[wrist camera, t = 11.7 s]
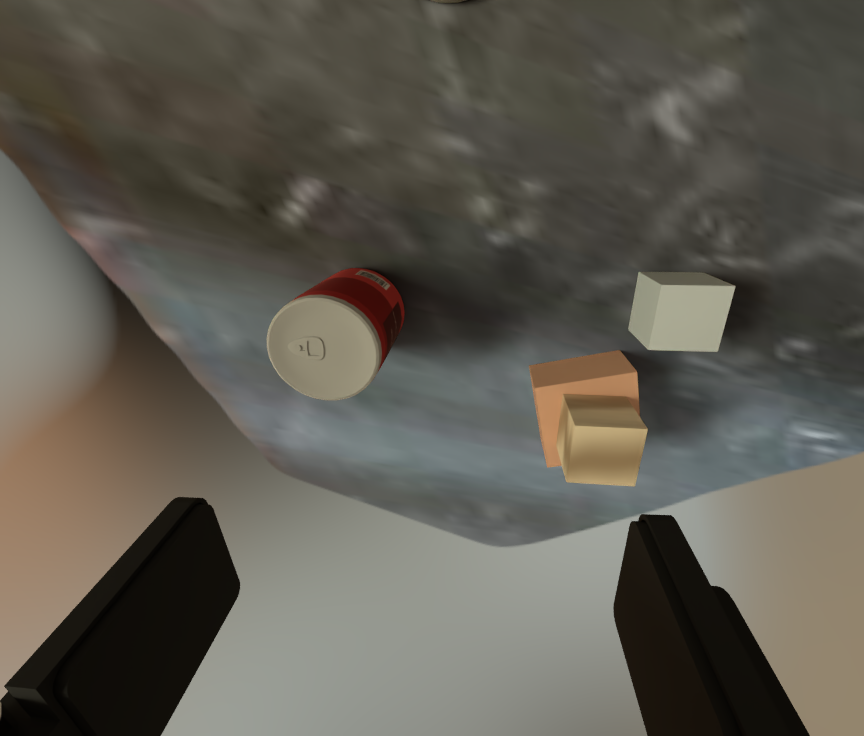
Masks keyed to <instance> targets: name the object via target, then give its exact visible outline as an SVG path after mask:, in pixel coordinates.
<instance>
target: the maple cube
mask: <svg viewBox="0 0 864 736" xmlns="http://www.w3.org/2000/svg"><path fill="white" fill-rule="evenodd" d="M647 431H648V429H647V427H646V426H645V424H644V423H643V421H642V420H641V418H640V417H639V415H638V414H637V412H636V411H635V409H634V408H633V406H632V405H631V403H630V402H629V400H628V399H627V397H626V396H603V395H579V394H563V396H562V404H561V412H560V419H559V427H558V434H557V442H556V447H557V450H558V454H559V457H560V461H561V464H562V468H563V471H564V475H565V479H566V482H572V483H588V484H605V485H621V486H635V483H636V479H637V474H638V470H639V466H640V461H641V457H642V453H643V448H644V444H645V440H646V435H647Z"/></svg>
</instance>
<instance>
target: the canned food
mask: <svg viewBox="0 0 864 736" xmlns="http://www.w3.org/2000/svg"><path fill="white" fill-rule="evenodd" d="M404 314H405V313H404V305H403V301H402V298H401V296H400V294H399V292H398V291H397V289H396V288H395V286H394V285H393V284H392V283H391V282H390V281H389V280H388V279H386V278H385V277H384V276H382V275H380V274H378V273H377V272H374V271H371V270H368V269H362V268H350V269H346V270H342V271H340V272H338V273H336V274H334V275H332V276H331V277H329V278H327V279H326V280H324V281H322V282H321V283H319V284H318V285H316V286H314V287H313V288H311V289H309V290H308V291H306V292H305V293H303V294H301V295H300V296H298V297H296V298H295V299H294V300H292V301H291V302H289V303H288V304H287V305H285V306H284V307H283V308H282V309H281V310H280V311H279V312H278V313H277V314H276V316H275V317H274V318H273V320H272V322H271V324H270V326H269V329H268V334H267V350H268V354H269V358H270V360H271V362H272V364H273V367H274V368H275V370H276V371H277V373H278V374H279V375H280V377H281V378H282V379H283V380H284V381H285V382H286V383H287V384H288V385H290V386H291V387H292V388H294V389H295V390H297V391H299V392H301V393H303V394H304V395H307V396H310V397H313V398H316V399H322V400H341V399H346V398H349V397H351V396H354V395H356V394H358V393H359V392H361V391H362V390H364V389H365V388H366V387H367V386H368V385H369V384H370V383H371V381H372V380H373V379H374V378H375V376H376V374H377V373H378V371H379V369H380V368H381V366H382V364H383V362H384V360H385V358H386V357H387V355H388V353H389V351H390V349H391V347H392V345H393V343H394V341H395V340H396V338H397V336H398V334H399V332H400V330H401V328H402V325H403V322H404Z"/></svg>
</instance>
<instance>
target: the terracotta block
mask: <svg viewBox="0 0 864 736" xmlns="http://www.w3.org/2000/svg"><path fill="white" fill-rule="evenodd" d="M529 369H530V375H531V381H532V387H533V394H534V400H535V406H536V412H537V418H538V424H539V430H540V436H541V441H542V446H543V450H544V455H545V459H546V464H547V467H554V466H562V464H561V461H560V457H559V454H558V450H557V447H556V442H557V434H558V427H559V419H560V412H561V404H562V396H563V394H579V395H603V396H626V397H627V399H628V400H629V402H630V403H631V405H632V406H633V408H634V409H635V411H636V412H637V414H638V415H639V417H640V410H639V393H638V377H637V371H636V370H635V368H634V367H633V366H632V365H631V363H630V362H629V361H628V360H627V359H626V357H625V356H624V355H623V354H622V352H621V351H620V350H618V351H612V352H606V353H600V354H594V355H588V356H582V357H576V358H570V359H565V360H559V361H553V362H547V363H541V364H535V365H529Z"/></svg>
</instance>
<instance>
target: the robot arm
mask: <svg viewBox="0 0 864 736" xmlns="http://www.w3.org/2000/svg"><path fill="white" fill-rule="evenodd" d="M430 1H434V2H438V3H458V2H462V1H466V0H430ZM239 590H240V581H239V579H238V576H237V573H236V570H235V567H234V565H233V562H232V559H231V557H230V554H229V551H228V548H227V545H226V543H225V540H224V537H223V534H222V532H221V529H220V526H219V523H218V521H217V518H216V515H215V513H214V509H213V508H212V506H211V505H208V503H207V502H206V500H205V499H203V498H188V497H178V498H175V499H174V500H172V501H171V502H170V503H169V504H168V505H167V506H166V508H165V509H164V510H163V511H162V512H161V513H160V514H159V516H157V518H156V519H155V520H154V521H153V522H152V523H151V524H150V525H149V527H147V529H146V530H145V531H144V532H143V533H142V534H141V535H140V536H139V537H138V539H137V540H136V541H135V542H134V543H133V544H132V546H130V548H129V549H128V550H127V551H126V552H125V553H124V554H123V555H122V556H121V558H119V560H118V561H117V562H116V563H115V564H114V565H113V567H111V569H110V570H109V571H108V572H107V573H106V574H105V575H104V576H103V577H102V578H101V580H100V581H99V582H98V583H97V584H96V585H95V586H94V587H93V589H91V591H90V592H89V593H88V594H87V595H86V596H85V597H84V598H83V600H82V601H81V602H80V603H79V604H78V605H77V606H76V607H75V608H74V609H73V611H72V612H71V613H70V614H69V615H68V616H67V617H66V618H65V619H64V620H63V622H62V623H61V624H60V625H59V626H58V627H57V628H56V629H55V630H54V632H53V633H52V634H51V635H50V636H49V637H48V638H47V639H46V640H45V642H44V643H43V644H42V645H41V646H40V647H39V648H38V649H37V650H36V652H35V653H34V654H33V655H32V656H31V657H30V658H29V659H28V660H27V662H26V663H25V664H24V665H23V666H22V667H21V668H20V669H19V671H17V673H16V674H15V675H14V676H13V677H12V678H11V679H10V680H9V681H8V682H7V684H6V685H5V686H4V687H5V688H6V689H7V690H8V692H7V693H6V695H5V696H4V697H3V698H2V699H1V700H0V736H161V734H162V732H163V731H164V729H165V727H166V725H167V723H168V721H169V720H170V718H171V716H172V714H173V713H174V711H175V709H176V707H177V705H178V704H179V702H180V700H181V698H182V696H183V694H184V693H185V691H186V689H187V687H188V685H189V684H190V682H191V680H192V678H193V676H194V675H195V673H196V671H197V669H198V668H199V666H200V664H201V662H202V660H203V659H204V657H205V655H206V653H207V651H208V650H209V648H210V646H211V644H212V642H213V641H214V639H215V637H216V635H217V633H218V632H219V630H220V628H221V626H222V624H223V623H224V621H225V619H226V617H227V615H228V614H229V612H230V610H231V608H232V606H233V605H234V603H235V601H236V599H237V597H238V594H239ZM614 618H615V623H616V627H617V630H618V634H619V637H620V641H621V644H622V648H623V651H624V655H625V658H626V661H627V665H628V669H629V672H630V676H631V679H632V683H633V686H634V690H635V693H636V697H637V700H638V704H639V707H640V710H641V714H642V718H643V721H644V725H645V728H646V732H647V735H648V736H810V735H809V733H808V732H807V730H806V728H805V726H804V725H803V723H802V721H801V719H800V717H799V716H798V714H797V712H796V710H795V709H794V707H793V705H792V703H791V702H790V700H789V698H788V696H787V694H786V693H785V691H784V689H783V687H782V686H781V684H780V682H779V680H778V679H777V677H776V675H775V673H774V671H773V670H772V668H771V666H770V664H769V663H768V661H767V659H766V657H765V656H764V654H763V652H762V650H761V649H760V647H759V645H758V643H757V642H756V640H755V638H754V636H753V634H752V633H751V631H750V629H749V628H748V626H747V624H746V622H745V620H744V619H743V617H742V615H741V613H740V611H739V610H738V608H737V606H736V604H735V603H734V601H733V600H732V598H731V597H730V595H729V594H728V593H727V592H726V591H725V590H724V589H723V588H721V587H718V586H711V585H710V584H709V582H708V579H707V578H706V576H705V574H704V572H703V570H702V568H701V567H700V564H699V563H698V561H697V559H696V557H695V555H694V553H693V551H692V549H691V548H690V546H689V544H688V542H687V540H686V538H685V537H684V534H683V533H682V531H681V529H680V527H679V525H678V523H677V522H676V520H675V519H674V517H672V516H671V515H647V514H641V516H640V517H639V521H632V522H631V523H630V527H629V532H628V537H627V542H626V547H625V551H624V557H623V561H622V567H621V571H620V576H619V581H618V586H617V591H616V596H615V601H614Z"/></svg>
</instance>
